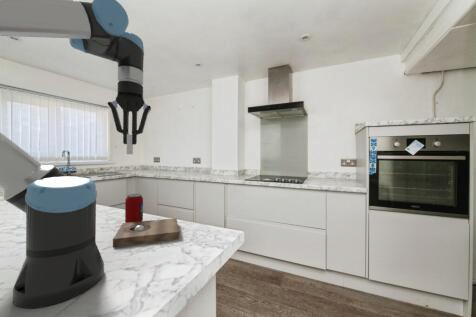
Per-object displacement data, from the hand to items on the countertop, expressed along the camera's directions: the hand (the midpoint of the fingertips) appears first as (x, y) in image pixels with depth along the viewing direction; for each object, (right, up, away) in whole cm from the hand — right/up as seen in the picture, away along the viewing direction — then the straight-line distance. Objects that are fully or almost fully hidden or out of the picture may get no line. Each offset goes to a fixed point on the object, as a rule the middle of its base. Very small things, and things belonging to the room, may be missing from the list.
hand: (129, 154), depth 67 cm
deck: (+3, -29, +7) cm, 30 cm away
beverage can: (-8, -29, +19) cm, 36 cm away
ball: (0, -28, +6) cm, 28 cm away
